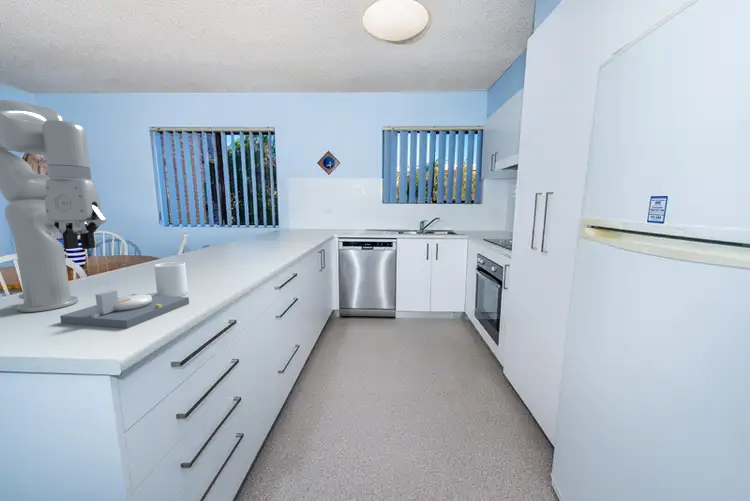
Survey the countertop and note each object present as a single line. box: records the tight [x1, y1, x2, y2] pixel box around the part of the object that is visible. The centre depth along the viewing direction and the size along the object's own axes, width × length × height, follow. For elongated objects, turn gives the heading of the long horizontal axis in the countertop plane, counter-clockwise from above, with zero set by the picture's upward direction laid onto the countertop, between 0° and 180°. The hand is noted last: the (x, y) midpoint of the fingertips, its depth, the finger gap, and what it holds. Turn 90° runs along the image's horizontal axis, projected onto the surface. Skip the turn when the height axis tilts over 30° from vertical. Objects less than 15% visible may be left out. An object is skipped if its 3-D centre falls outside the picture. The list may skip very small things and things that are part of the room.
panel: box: [59, 293, 190, 329], centre depth 87 cm, size 20×20×3 cm
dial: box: [95, 290, 152, 314], centre depth 85 cm, size 13×10×5 cm
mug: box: [153, 261, 188, 297], centre depth 105 cm, size 9×12×11 cm
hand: (80, 247), depth 78 cm, fingers open, 3 cm apart
